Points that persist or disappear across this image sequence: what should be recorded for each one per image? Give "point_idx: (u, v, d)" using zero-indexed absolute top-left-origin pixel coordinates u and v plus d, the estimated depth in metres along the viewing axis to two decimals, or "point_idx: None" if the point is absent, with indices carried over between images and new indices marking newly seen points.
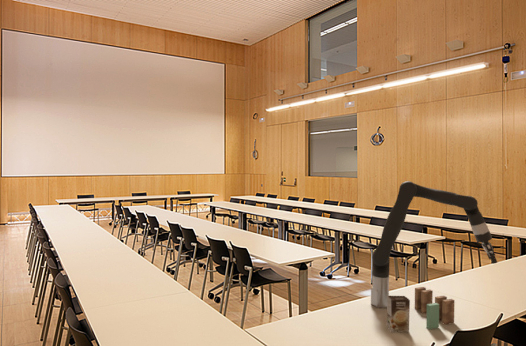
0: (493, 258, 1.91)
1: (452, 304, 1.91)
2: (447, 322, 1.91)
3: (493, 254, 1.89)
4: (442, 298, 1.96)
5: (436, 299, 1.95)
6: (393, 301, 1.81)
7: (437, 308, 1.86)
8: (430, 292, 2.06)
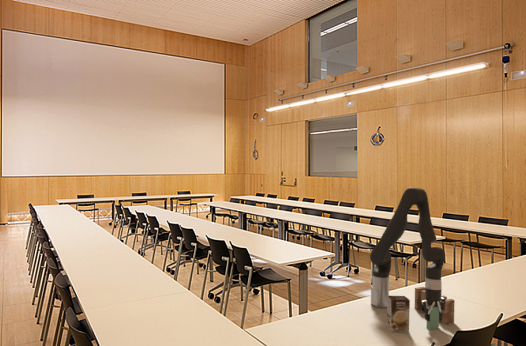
0: (426, 315, 1.85)
1: (452, 304, 1.91)
2: (447, 322, 1.91)
3: (424, 311, 1.83)
4: None
5: None
6: (393, 301, 1.81)
7: (437, 308, 1.86)
8: None
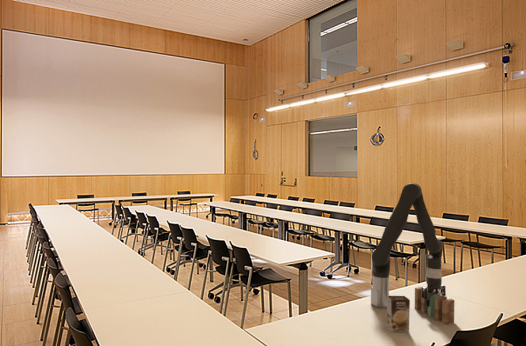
0: (425, 301, 2.00)
1: (452, 304, 1.91)
2: (447, 322, 1.91)
3: (423, 297, 1.98)
4: (442, 298, 1.96)
5: (436, 299, 1.95)
6: (393, 301, 1.81)
7: None
8: None
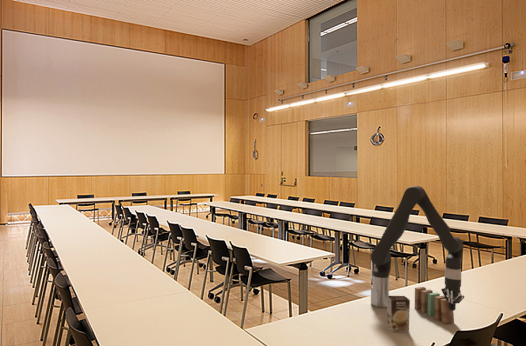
0: (454, 305, 1.88)
1: None
2: (447, 322, 1.91)
3: (458, 302, 1.86)
4: (442, 298, 1.96)
5: (436, 299, 1.95)
6: (393, 301, 1.81)
7: None
8: (430, 292, 2.06)
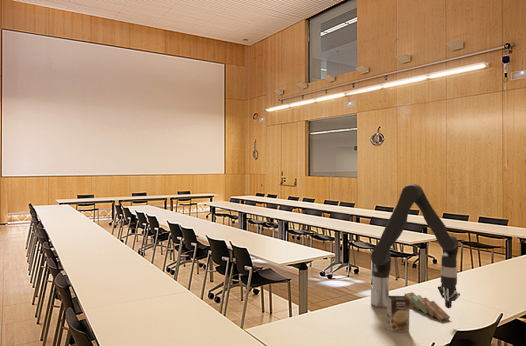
0: (450, 303, 1.91)
1: (434, 303, 2.03)
2: (442, 317, 1.94)
3: (454, 299, 1.89)
4: (423, 298, 2.09)
5: (418, 301, 2.07)
6: (393, 301, 1.81)
7: (420, 297, 2.13)
8: (411, 293, 2.18)
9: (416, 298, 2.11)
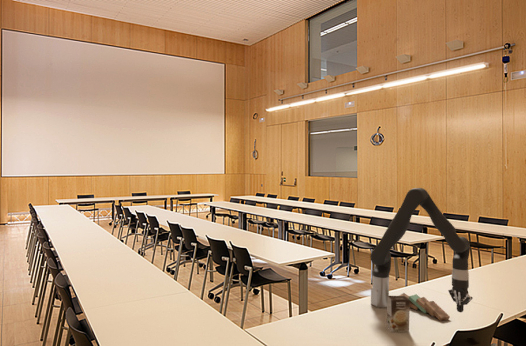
0: (462, 307, 1.84)
1: (434, 303, 2.03)
2: (442, 316, 1.95)
3: (466, 303, 1.82)
4: (421, 298, 2.09)
5: (417, 301, 2.08)
6: (393, 301, 1.81)
7: (417, 296, 2.13)
8: (403, 294, 2.18)
9: (414, 298, 2.12)
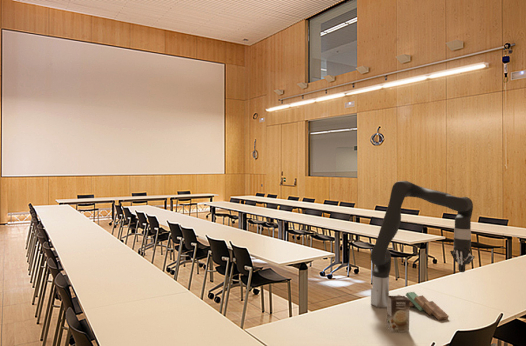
0: (464, 267, 1.82)
1: (433, 303, 2.04)
2: (441, 315, 1.95)
3: (468, 263, 1.81)
4: (419, 296, 2.11)
5: (415, 299, 2.09)
6: (393, 301, 1.81)
7: (415, 294, 2.16)
8: (398, 295, 2.22)
9: (411, 295, 2.14)
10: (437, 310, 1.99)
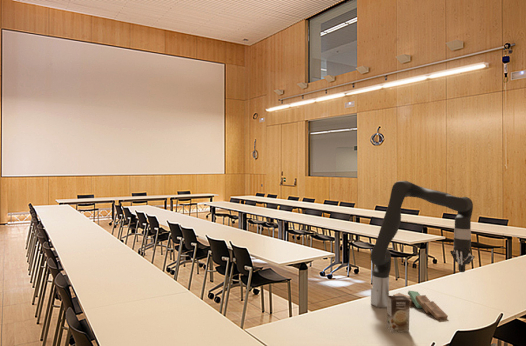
0: (464, 267, 1.82)
1: (433, 303, 2.05)
2: (439, 315, 1.96)
3: (468, 263, 1.81)
4: (421, 296, 2.13)
5: (416, 298, 2.13)
6: (393, 301, 1.81)
7: (417, 293, 2.19)
8: (399, 293, 2.26)
9: (412, 293, 2.18)
10: (436, 310, 2.00)
